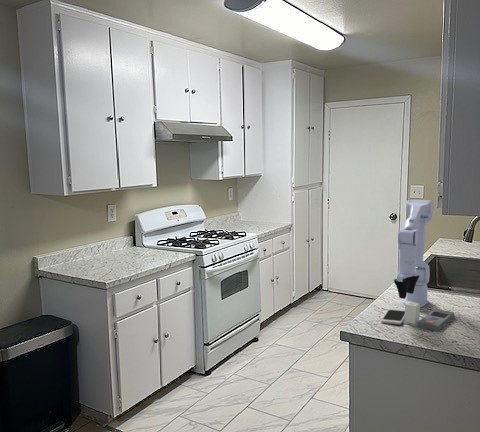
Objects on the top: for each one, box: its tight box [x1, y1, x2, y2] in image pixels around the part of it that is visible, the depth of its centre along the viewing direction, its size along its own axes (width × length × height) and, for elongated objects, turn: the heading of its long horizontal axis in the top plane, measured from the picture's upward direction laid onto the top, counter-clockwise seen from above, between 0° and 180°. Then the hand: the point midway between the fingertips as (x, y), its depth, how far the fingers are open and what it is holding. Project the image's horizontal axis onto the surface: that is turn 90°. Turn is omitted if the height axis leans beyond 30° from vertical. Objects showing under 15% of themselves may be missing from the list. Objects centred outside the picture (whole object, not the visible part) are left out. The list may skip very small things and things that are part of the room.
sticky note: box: [401, 318, 421, 327], centre depth 169 cm, size 6×6×1 cm
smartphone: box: [380, 307, 405, 325], centre depth 174 cm, size 7×16×1 cm, turn 150°
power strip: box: [418, 308, 455, 332], centre depth 168 cm, size 18×7×2 cm, turn 138°
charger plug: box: [404, 301, 421, 324], centre depth 168 cm, size 4×4×7 cm
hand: (406, 295), depth 171 cm, fingers open, 7 cm apart
